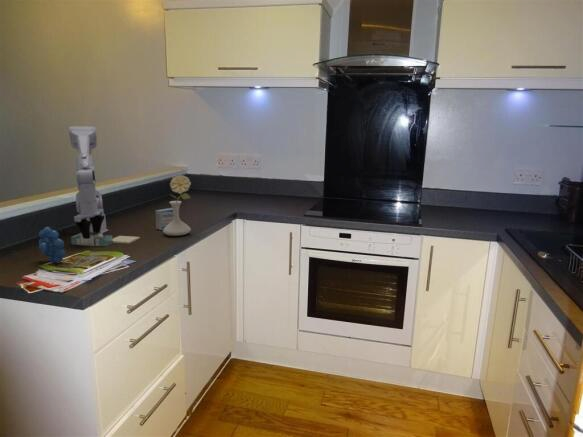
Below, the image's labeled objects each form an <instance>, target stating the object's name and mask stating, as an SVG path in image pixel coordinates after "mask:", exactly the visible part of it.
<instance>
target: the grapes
mask: <svg viewBox="0 0 583 437" xmlns="http://www.w3.org/2000/svg"><path fill="white" fill-rule="evenodd" d="M38 236H39V238H40V239H39V240H38V245H39V246H38V249H39V250H40V251H41V253H42V254H43V256H45V257H47V260H48V261H49V262H50V263H52V262H54V263H56V262H60V261H62V262H63V260H64V258H65V256H66V250H65V249H63V247H64V245H65V242H64V240H63V239H61V238H59V237H60V233H59V232H58V231H57V230H55V229H52V228H51V227H50V226H45V227H44V228H43V229H41V230H40V231H39V233H38Z"/></svg>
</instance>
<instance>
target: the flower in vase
mask: <svg viewBox="0 0 583 437" xmlns="http://www.w3.org/2000/svg"><path fill="white" fill-rule="evenodd" d="M191 185H192V182H191V180H190V178H189V177H187V176H185V175H182V174H179V175H176V176H175V177H172V179H171V180H170V183H169V187H170V189H171V191H172V192H174V193H177V194H180V195H179V196H178V197H176V196H175V195H172V194H170V196H171V197H173V198H175V199H177V200H171V201H169V202H168V203H169V204H170V205H171V208H172V209H173V220H172V221H171V222H170V223H169V224H168V225H167V226H166V227H165V228H164V229H163V231H162V233H163V234H164V235H166V236H172V237H175V236H176V237H177V236H184V235H187V234H189V233H190V232H191V231H192V228H191V227H190V226H189V225H188V224H186V223H185V222H184V221H182V220H181V218H180V206H181V204H182V201H181V200H179V199H180V198H182V199H183V200H188V199H191V198H192V197H191V196H190V195H189V194H188V193H186V192H188V191H189V190H190V187H191Z"/></svg>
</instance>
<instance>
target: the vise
mask: <svg viewBox="0 0 583 437" xmlns="http://www.w3.org/2000/svg"><path fill="white" fill-rule="evenodd" d="M80 235H81V234H79V233H77V234H75V235H72V236H70V240H71V242H70V243H71V245H74V246H75V245H76V246H77V245H78V246H82V245H81V240H80ZM113 238H114V237H113V234H112V235H111V234H110V235H109V234H108V235H107V234H105V235H103V237H100V238H98V239H95V243H96V247H107V246H109V245H112V244H114V243H113Z"/></svg>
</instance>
